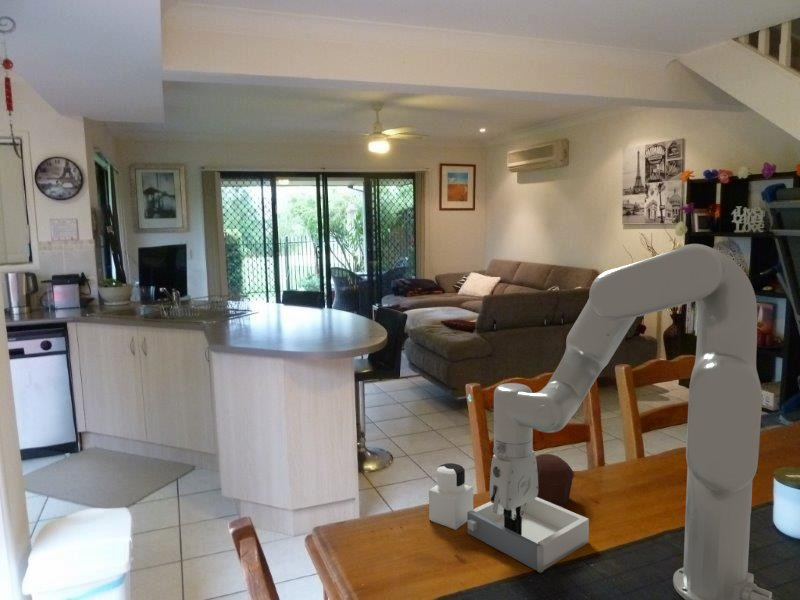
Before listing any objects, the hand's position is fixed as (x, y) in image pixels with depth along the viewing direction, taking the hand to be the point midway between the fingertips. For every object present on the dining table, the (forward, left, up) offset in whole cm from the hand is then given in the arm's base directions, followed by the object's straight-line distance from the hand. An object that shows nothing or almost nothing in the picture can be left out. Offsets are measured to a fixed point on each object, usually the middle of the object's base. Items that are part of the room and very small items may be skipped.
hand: (512, 533), depth 114 cm
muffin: (+7, -21, -2) cm, 22 cm away
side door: (-1, +5, -1) cm, 5 cm away
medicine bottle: (+15, +3, -2) cm, 15 cm away
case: (-1, -3, -2) cm, 4 cm away
